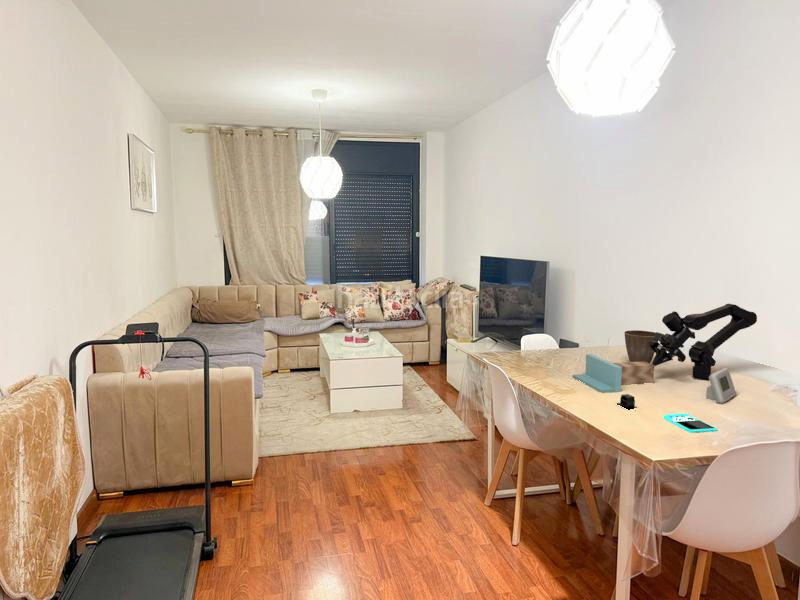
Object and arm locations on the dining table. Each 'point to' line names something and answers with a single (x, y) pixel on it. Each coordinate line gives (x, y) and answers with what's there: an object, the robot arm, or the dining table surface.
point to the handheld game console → (689, 423)
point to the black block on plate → (627, 401)
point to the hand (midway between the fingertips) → (652, 365)
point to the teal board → (601, 374)
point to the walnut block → (636, 372)
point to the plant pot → (639, 345)
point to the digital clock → (720, 386)
